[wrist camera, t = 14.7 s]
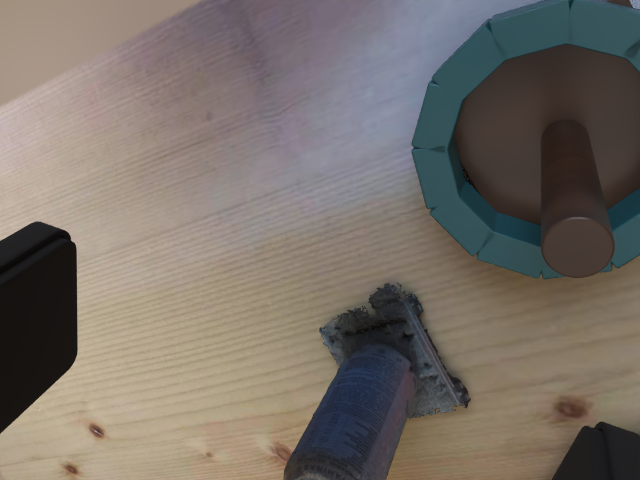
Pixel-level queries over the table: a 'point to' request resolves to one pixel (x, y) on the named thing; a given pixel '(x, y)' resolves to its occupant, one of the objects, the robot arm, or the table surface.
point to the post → (557, 148)
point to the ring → (466, 75)
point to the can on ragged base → (373, 391)
